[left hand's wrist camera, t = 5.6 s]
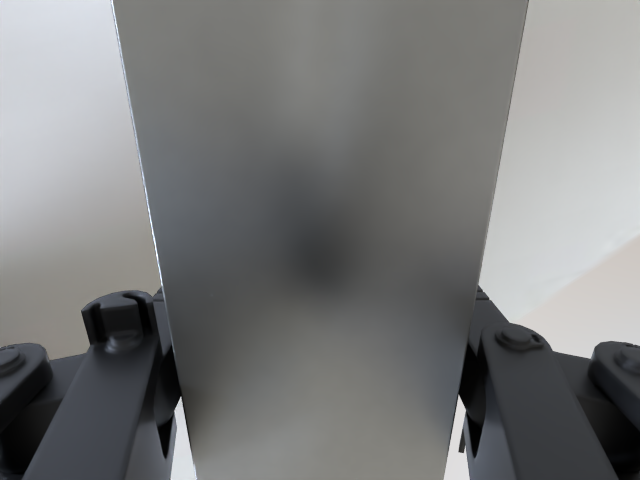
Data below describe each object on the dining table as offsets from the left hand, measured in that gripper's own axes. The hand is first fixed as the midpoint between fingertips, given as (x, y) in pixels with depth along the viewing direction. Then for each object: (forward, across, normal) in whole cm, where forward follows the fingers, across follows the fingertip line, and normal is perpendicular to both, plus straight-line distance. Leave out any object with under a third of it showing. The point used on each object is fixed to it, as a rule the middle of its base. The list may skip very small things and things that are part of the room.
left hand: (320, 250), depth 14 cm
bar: (+1, 0, -10) cm, 10 cm away
